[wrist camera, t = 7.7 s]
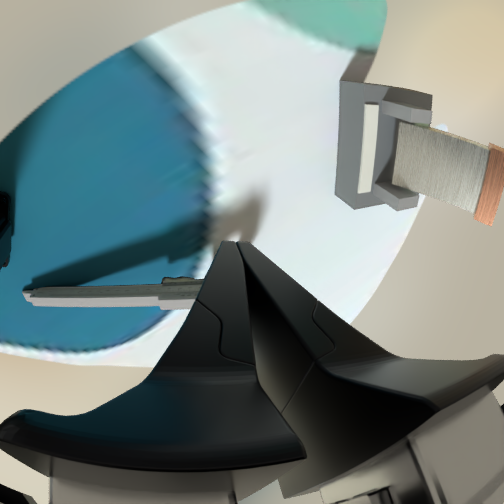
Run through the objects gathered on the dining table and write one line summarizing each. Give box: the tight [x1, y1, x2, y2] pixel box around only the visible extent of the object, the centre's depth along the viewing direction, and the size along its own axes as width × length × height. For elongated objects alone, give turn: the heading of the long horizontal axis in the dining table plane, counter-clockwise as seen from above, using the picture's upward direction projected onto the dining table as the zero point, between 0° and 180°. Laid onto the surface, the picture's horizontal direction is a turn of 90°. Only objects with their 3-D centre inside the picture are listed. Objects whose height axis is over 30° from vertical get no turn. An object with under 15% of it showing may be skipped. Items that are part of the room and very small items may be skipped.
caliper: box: [22, 272, 208, 310], centre depth 20 cm, size 20×1×6 cm, turn 88°
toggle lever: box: [392, 120, 504, 226], centre depth 17 cm, size 2×6×9 cm
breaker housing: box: [335, 81, 432, 211], centre depth 20 cm, size 8×10×6 cm
